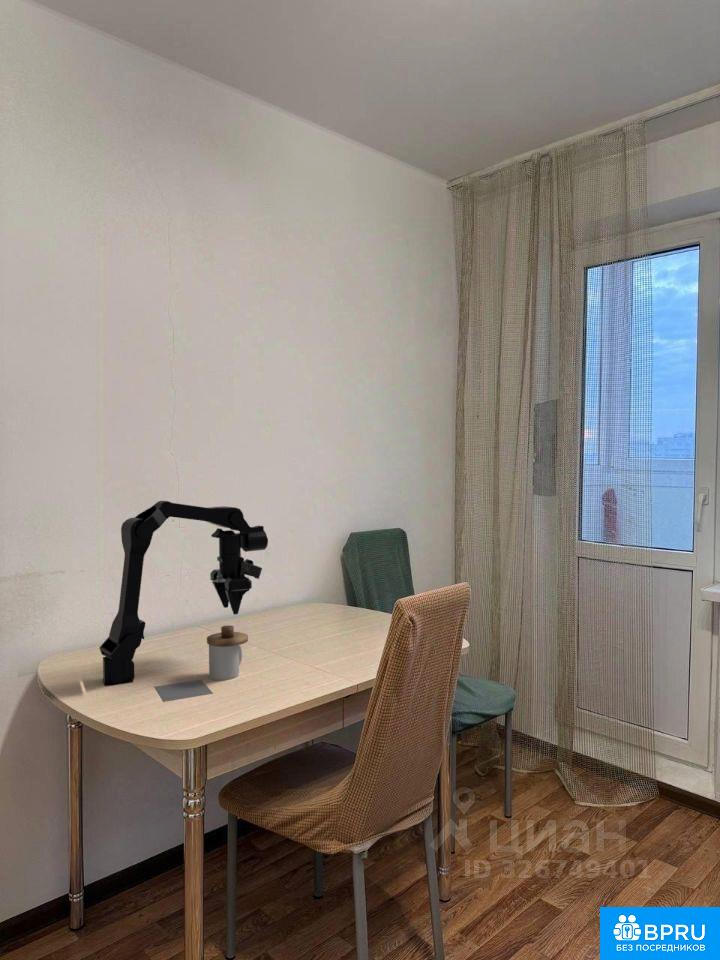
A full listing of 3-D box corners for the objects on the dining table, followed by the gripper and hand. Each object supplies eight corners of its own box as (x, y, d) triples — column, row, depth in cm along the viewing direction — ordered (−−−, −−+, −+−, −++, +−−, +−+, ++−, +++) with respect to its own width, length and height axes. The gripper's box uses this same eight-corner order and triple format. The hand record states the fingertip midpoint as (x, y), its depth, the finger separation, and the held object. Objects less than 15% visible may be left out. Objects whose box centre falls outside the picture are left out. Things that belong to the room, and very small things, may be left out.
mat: (163, 704, 148) (163, 701, 148) (154, 689, 158) (154, 686, 158) (213, 695, 153) (212, 693, 153) (201, 681, 163) (200, 679, 163)
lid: (212, 648, 160) (212, 634, 160) (202, 638, 169) (202, 624, 169) (253, 643, 164) (253, 629, 164) (241, 633, 173) (241, 620, 173)
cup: (203, 679, 164) (202, 643, 164) (230, 668, 173) (229, 634, 173) (225, 684, 161) (225, 647, 161) (252, 672, 170) (251, 637, 169)
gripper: (270, 555, 176) (270, 614, 177) (248, 547, 193) (248, 601, 193) (228, 558, 171) (229, 619, 172) (209, 550, 188) (210, 605, 188)
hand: (230, 610), depth 181 cm, fingers open, 9 cm apart
